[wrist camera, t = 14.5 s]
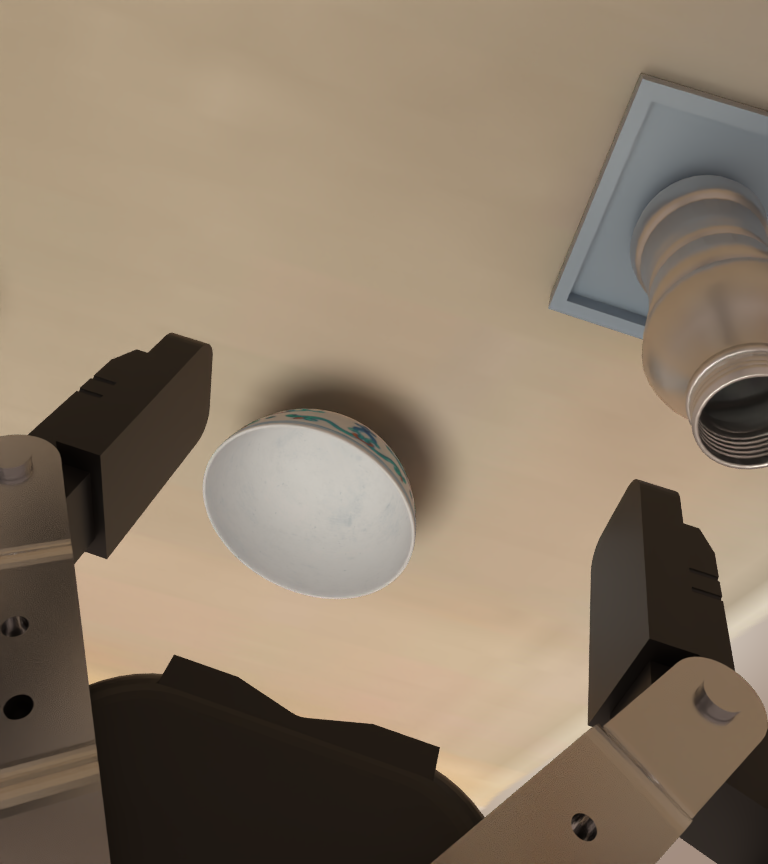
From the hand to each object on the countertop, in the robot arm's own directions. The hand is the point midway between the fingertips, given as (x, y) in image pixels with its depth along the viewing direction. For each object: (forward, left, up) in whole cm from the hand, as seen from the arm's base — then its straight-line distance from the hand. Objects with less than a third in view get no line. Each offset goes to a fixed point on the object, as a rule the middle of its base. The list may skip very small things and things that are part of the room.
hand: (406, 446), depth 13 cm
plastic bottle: (+3, +10, -31) cm, 33 cm away
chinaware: (+26, -6, -32) cm, 42 cm away
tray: (+3, +10, -31) cm, 33 cm away
